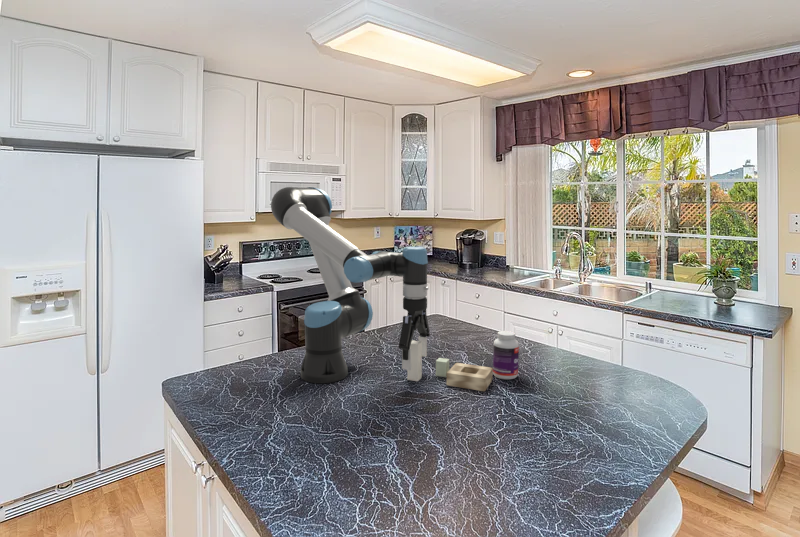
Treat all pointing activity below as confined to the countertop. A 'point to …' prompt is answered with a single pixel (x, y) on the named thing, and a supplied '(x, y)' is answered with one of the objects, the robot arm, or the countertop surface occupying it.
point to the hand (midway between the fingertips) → (414, 362)
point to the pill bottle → (505, 355)
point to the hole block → (469, 376)
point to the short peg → (442, 367)
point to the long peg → (415, 361)
